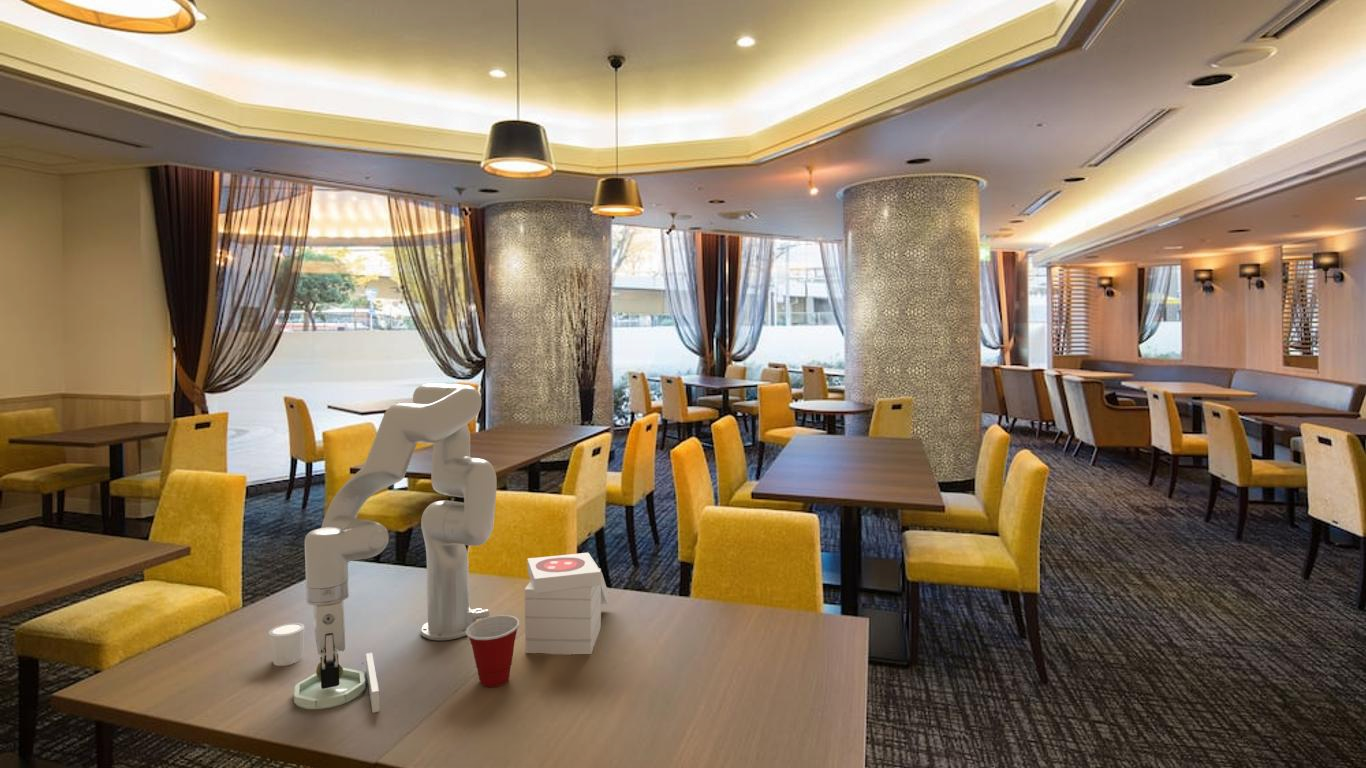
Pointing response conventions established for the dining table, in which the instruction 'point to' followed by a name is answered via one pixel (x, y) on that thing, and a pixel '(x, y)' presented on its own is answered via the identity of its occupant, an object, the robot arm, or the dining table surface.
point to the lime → (321, 667)
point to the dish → (329, 691)
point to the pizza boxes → (563, 604)
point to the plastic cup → (493, 647)
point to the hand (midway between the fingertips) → (330, 679)
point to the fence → (372, 682)
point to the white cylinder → (287, 643)
